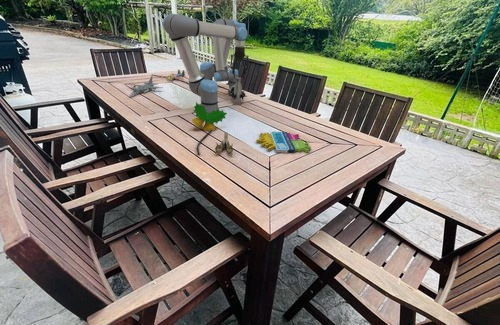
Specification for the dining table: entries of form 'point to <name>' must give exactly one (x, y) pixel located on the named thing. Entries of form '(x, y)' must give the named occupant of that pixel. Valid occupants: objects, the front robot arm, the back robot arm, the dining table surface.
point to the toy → (174, 76)
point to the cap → (238, 79)
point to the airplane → (143, 87)
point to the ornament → (207, 117)
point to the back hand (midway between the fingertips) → (238, 97)
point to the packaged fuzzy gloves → (283, 142)
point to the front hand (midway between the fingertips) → (238, 78)
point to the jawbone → (224, 145)
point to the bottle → (237, 93)
